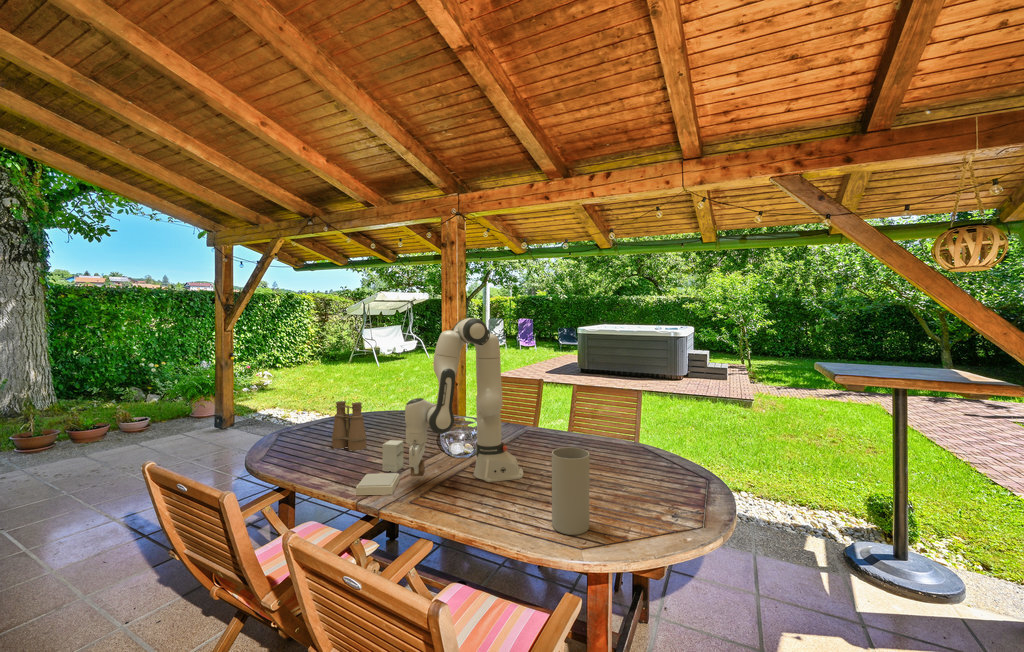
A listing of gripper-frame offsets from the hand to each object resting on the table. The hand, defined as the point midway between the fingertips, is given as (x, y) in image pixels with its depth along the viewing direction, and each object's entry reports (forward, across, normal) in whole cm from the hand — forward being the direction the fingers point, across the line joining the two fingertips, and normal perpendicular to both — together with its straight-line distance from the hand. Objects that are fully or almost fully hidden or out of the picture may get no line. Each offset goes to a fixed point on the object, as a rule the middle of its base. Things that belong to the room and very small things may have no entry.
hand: (417, 470), depth 177 cm
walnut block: (+2, 0, 0) cm, 2 cm away
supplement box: (+6, +21, +15) cm, 27 cm away
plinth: (+6, -2, +16) cm, 17 cm away
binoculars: (+6, +56, +45) cm, 72 cm away
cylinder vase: (+8, -40, -56) cm, 70 cm away
